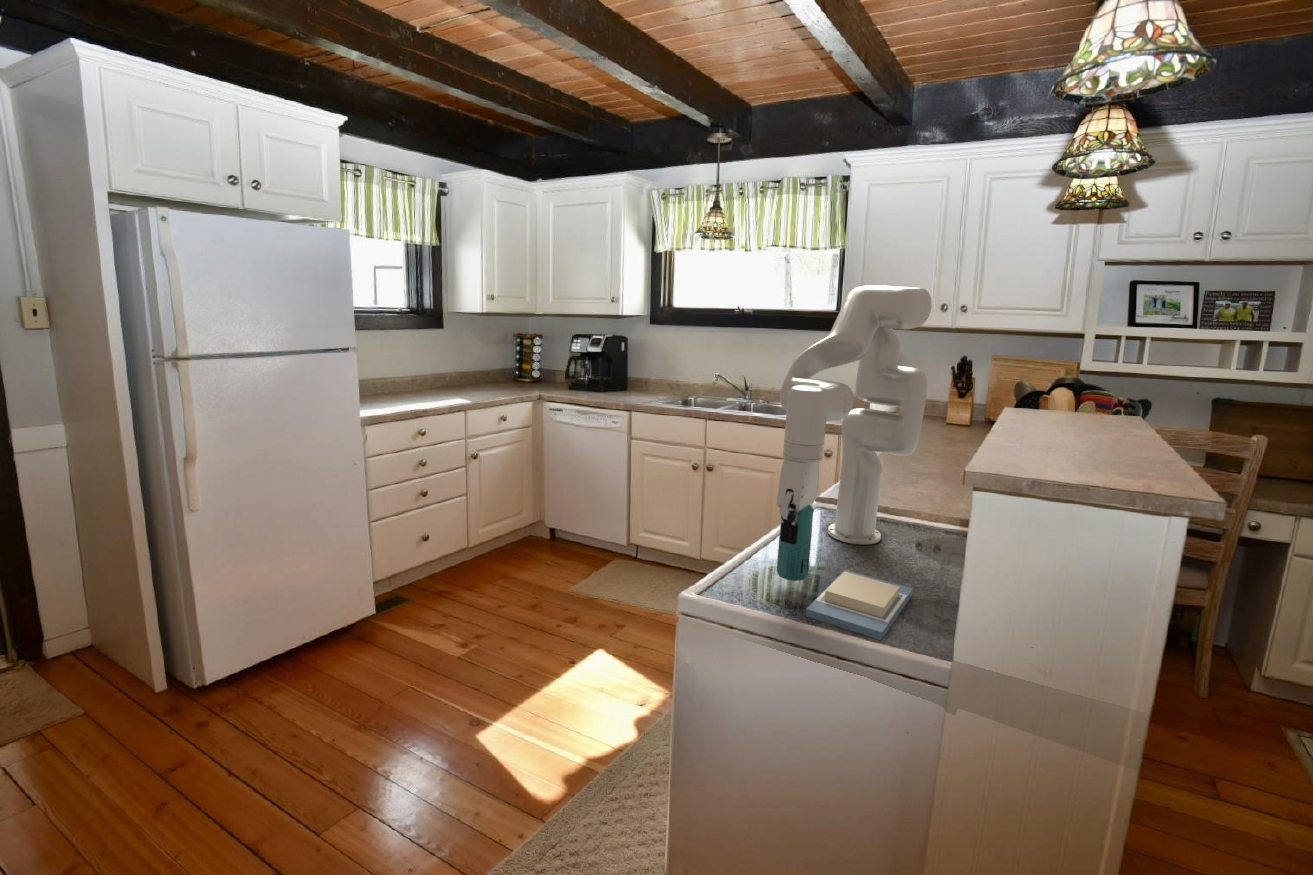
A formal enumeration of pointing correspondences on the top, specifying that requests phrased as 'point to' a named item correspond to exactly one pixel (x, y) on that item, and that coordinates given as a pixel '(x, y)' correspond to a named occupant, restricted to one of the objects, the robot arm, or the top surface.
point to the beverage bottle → (796, 548)
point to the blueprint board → (856, 618)
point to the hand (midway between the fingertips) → (795, 536)
